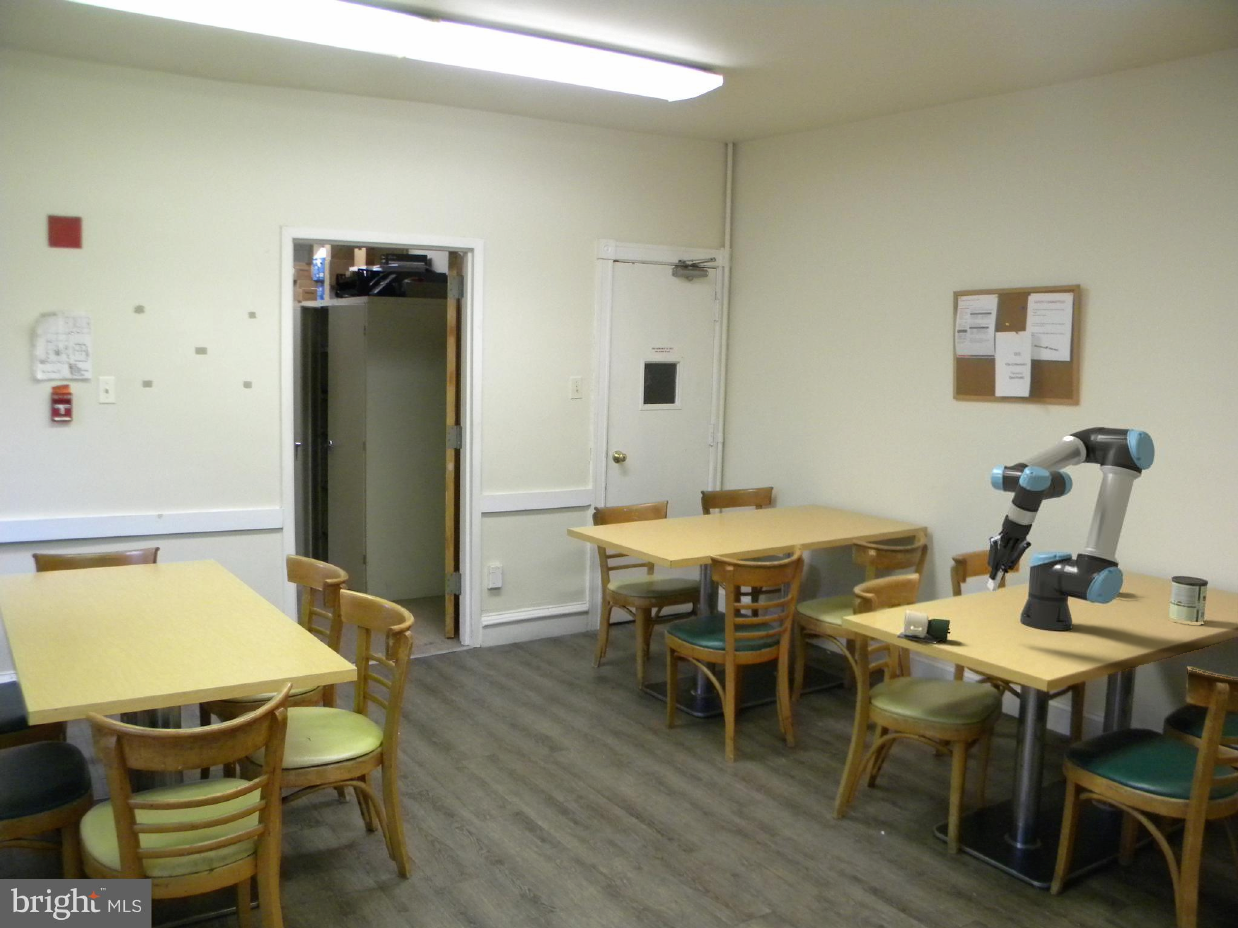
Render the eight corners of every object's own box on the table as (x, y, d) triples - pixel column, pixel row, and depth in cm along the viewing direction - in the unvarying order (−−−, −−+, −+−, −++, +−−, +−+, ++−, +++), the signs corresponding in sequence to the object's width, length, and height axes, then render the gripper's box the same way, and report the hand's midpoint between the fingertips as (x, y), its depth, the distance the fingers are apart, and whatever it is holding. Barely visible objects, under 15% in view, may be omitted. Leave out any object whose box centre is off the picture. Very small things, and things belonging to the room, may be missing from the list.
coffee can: (1166, 615, 335) (1170, 574, 334) (1202, 620, 331) (1206, 578, 330) (1169, 622, 326) (1173, 580, 325) (1205, 627, 322) (1209, 584, 320)
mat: (946, 631, 306) (946, 629, 306) (935, 643, 292) (935, 642, 292) (909, 625, 311) (910, 624, 311) (897, 637, 297) (897, 635, 297)
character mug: (947, 635, 300) (902, 626, 303) (951, 613, 298) (906, 604, 301) (948, 649, 289) (902, 639, 292) (953, 626, 288) (906, 616, 291)
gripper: (1031, 513, 291) (1003, 582, 301) (992, 511, 288) (965, 580, 298) (1046, 526, 285) (1017, 596, 295) (1007, 524, 281) (978, 594, 291)
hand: (991, 588), depth 296 cm, fingers closed
